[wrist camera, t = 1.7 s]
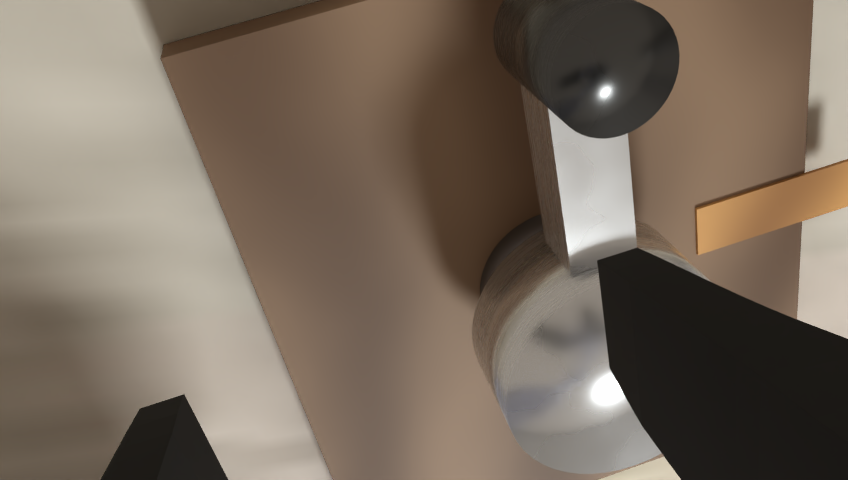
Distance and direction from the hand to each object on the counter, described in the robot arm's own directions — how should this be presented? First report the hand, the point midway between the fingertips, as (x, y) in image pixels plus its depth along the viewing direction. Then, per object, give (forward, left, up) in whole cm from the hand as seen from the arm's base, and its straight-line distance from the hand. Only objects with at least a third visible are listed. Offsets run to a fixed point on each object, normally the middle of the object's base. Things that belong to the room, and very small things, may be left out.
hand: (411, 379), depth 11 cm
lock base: (+5, -6, -10) cm, 13 cm away
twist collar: (+5, -3, -7) cm, 9 cm away
